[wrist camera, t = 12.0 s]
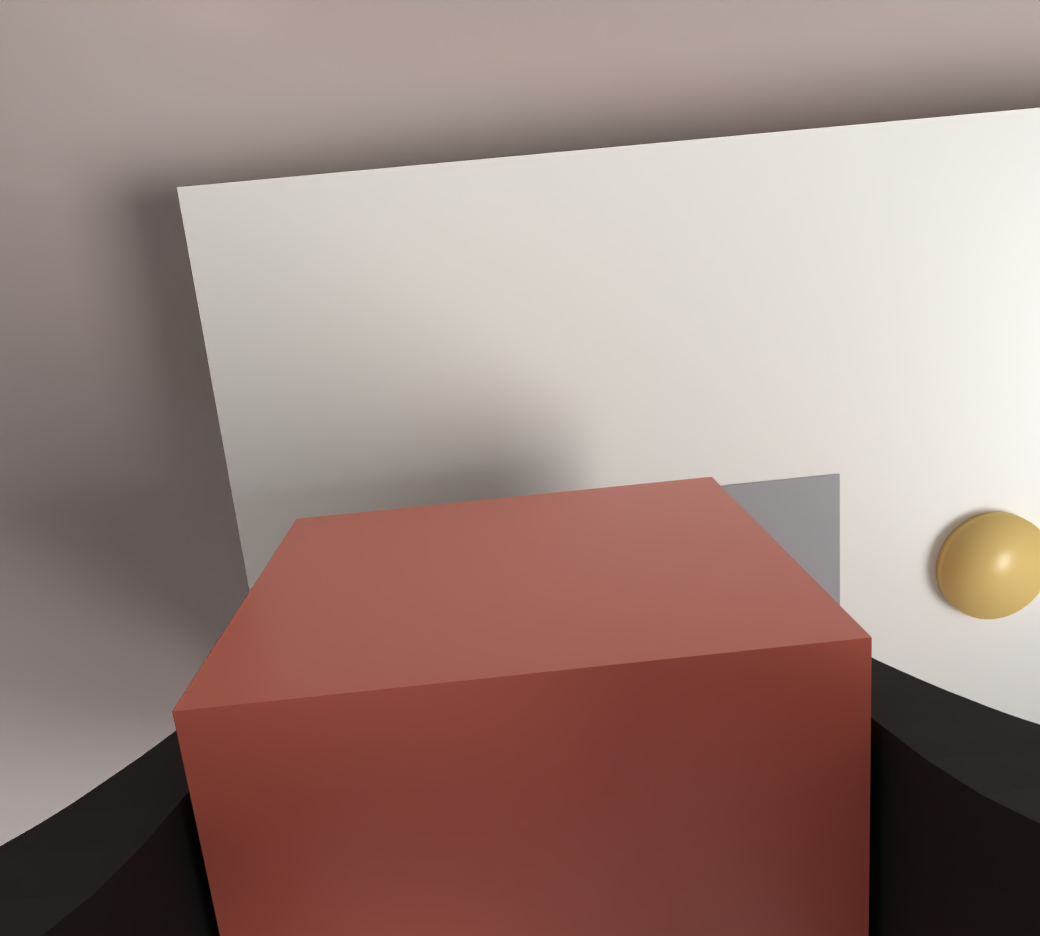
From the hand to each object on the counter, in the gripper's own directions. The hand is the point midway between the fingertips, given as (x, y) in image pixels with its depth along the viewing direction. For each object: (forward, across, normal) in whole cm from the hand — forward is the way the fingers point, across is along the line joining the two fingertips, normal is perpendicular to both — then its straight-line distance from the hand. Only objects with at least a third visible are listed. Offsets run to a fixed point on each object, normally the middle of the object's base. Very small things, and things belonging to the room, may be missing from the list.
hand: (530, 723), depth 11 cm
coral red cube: (+2, 0, 0) cm, 2 cm away
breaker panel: (+5, -3, +3) cm, 7 cm away
